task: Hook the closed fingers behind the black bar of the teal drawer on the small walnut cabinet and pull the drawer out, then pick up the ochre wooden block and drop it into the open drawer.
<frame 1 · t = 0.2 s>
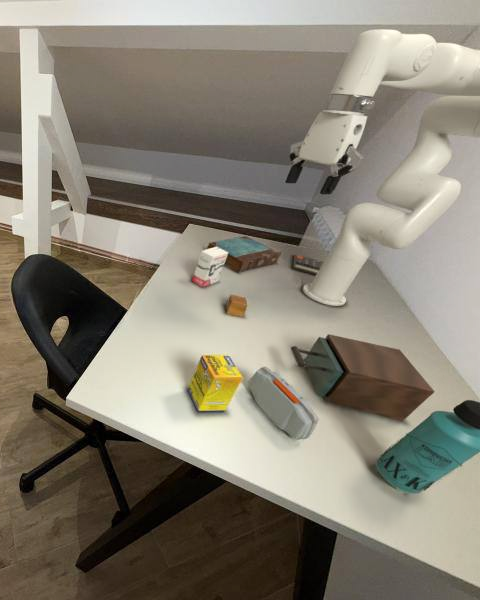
hand: (307, 188, 76), 37 cm above the table, tool pointing down, fingers open, 9 cm apart
calculator: (309, 266, 126), on the table
supplement box: (204, 401, 66), on the table
ink box: (204, 282, 110), on the table
block: (233, 311, 95), on the table
beverage bottle: (391, 480, 55), on the table
drawer: (338, 369, 70), point 5 cm above the table, slide at 0.5 cm
cabinet: (351, 389, 72), on the table
gray case: (270, 414, 65), on the table
book: (239, 259, 128), on the table
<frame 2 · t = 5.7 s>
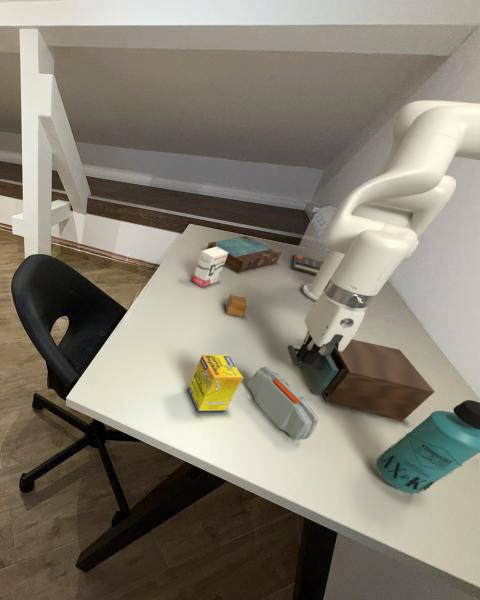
hand: (303, 360, 71), 5 cm above the table, tool pointing down, fingers closed
drawer: (333, 368, 70), point 5 cm above the table, slide at 1.4 cm, touching gripper
everything else where it was.
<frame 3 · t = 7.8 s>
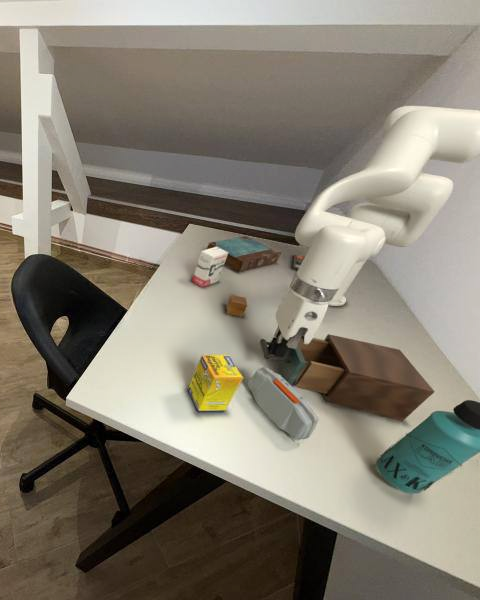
hand: (274, 353, 73), 5 cm above the table, tool pointing down, fingers closed
drawer: (304, 361, 72), point 5 cm above the table, slide at 7.5 cm
everything else where it was.
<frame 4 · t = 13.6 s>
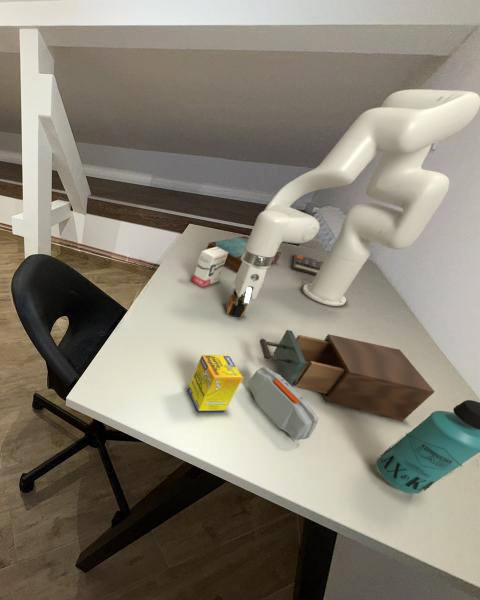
hand: (234, 310, 95), 0 cm above the table, tool pointing down, fingers closed on block, 4 cm apart
block: (233, 311, 95), on the table, touching gripper
everything else where it was.
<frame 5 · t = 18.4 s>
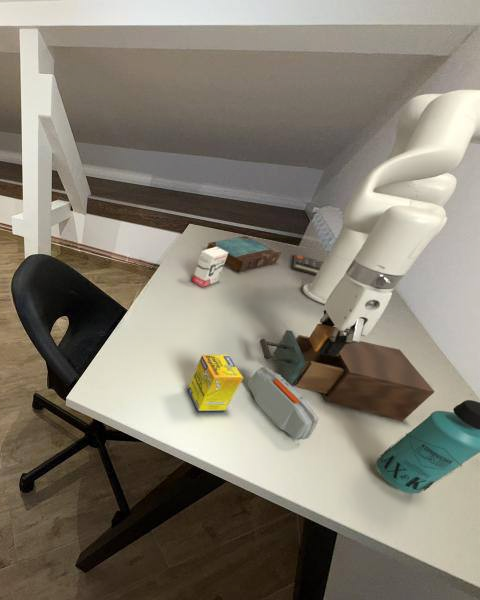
hand: (323, 346, 68), 10 cm above the table, tool pointing down, fingers closed on block, 4 cm apart
block: (322, 347, 68), point 10 cm above the table, touching gripper
everything else where it was.
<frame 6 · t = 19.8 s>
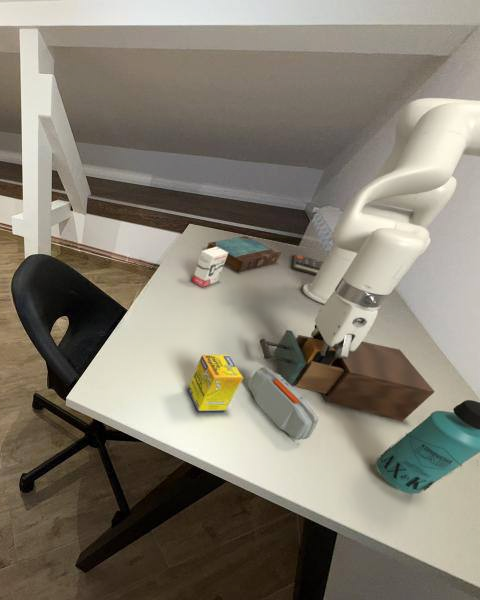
hand: (314, 359, 71), 6 cm above the table, tool pointing down, fingers closed on block, 4 cm apart
block: (313, 360, 71), point 6 cm above the table, touching gripper
drawer: (304, 361, 72), point 5 cm above the table, slide at 7.5 cm, touching gripper
everything else where it was.
when the fingers open (7 cm above the table, at t = 23.6 s): block stays where it is, resting on drawer.
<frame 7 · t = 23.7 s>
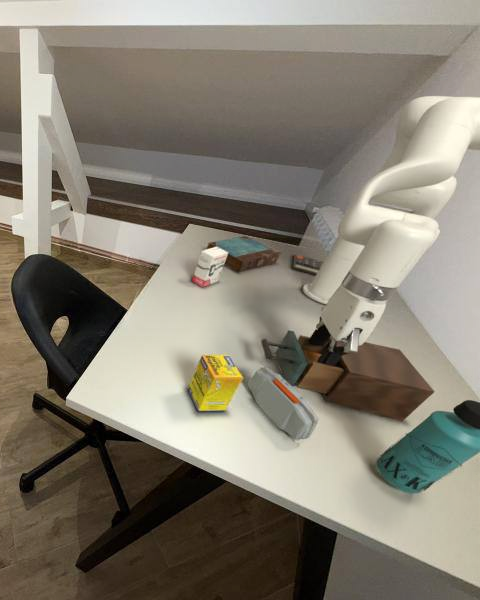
hand: (320, 353, 69), 8 cm above the table, tool pointing down, fingers open, 5 cm apart
block: (307, 372, 73), point 2 cm above the table, touching drawer
drawer: (305, 361, 72), point 5 cm above the table, slide at 7.1 cm, touching block
everything else where it was.
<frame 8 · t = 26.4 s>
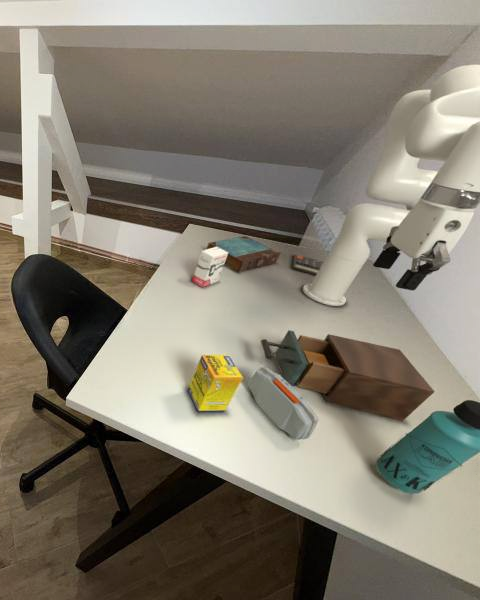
hand: (391, 277, 67), 24 cm above the table, tool pointing down, fingers open, 9 cm apart
nothing on the table moved.
at the end: drawer slide at 7.1 cm; block inside the target area in the drawer (1.6 cm from its centre), point 2.0 cm above the cabinet's base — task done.
